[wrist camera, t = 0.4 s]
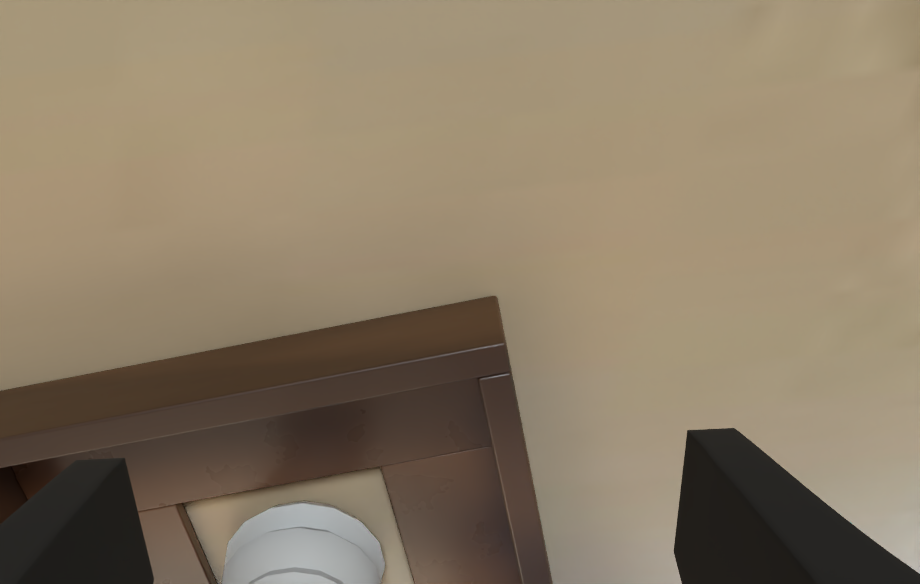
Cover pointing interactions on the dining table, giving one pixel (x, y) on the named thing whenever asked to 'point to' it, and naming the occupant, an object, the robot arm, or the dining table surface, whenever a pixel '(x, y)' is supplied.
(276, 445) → the tray
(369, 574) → the rook chess piece
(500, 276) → the dining table surface
